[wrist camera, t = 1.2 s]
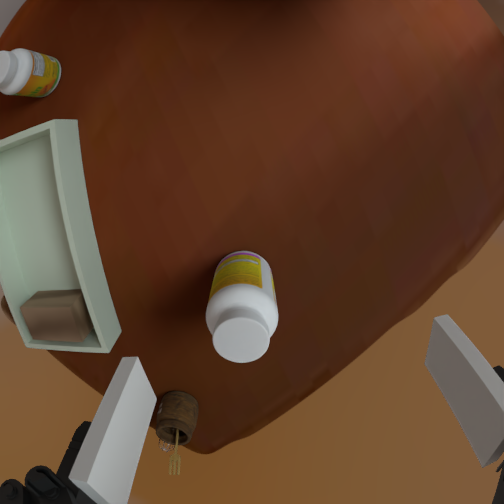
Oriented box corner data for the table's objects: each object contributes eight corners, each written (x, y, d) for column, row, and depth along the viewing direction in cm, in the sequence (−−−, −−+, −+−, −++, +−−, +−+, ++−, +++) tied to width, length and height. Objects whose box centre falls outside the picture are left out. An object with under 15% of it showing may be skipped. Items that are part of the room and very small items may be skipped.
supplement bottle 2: (203, 270, 37) (183, 333, 25) (248, 237, 36) (248, 290, 24) (238, 310, 39) (234, 382, 27) (283, 281, 38) (297, 347, 26)
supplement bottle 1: (30, 102, 29) (-20, 101, 20) (30, 65, 27) (-18, 56, 18) (62, 90, 29) (13, 83, 20) (62, 51, 27) (15, 36, 18)
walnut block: (38, 290, 38) (19, 307, 33) (86, 288, 37) (69, 307, 33) (49, 321, 39) (32, 339, 35) (97, 321, 39) (82, 342, 34)
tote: (-5, 149, 31) (-29, 153, 26) (77, 119, 31) (54, 119, 26) (41, 329, 41) (26, 347, 36) (121, 331, 40) (109, 353, 36)
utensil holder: (194, 388, 44) (182, 452, 32) (203, 415, 46) (194, 475, 35) (157, 389, 44) (138, 449, 33) (168, 415, 46) (154, 473, 35)
